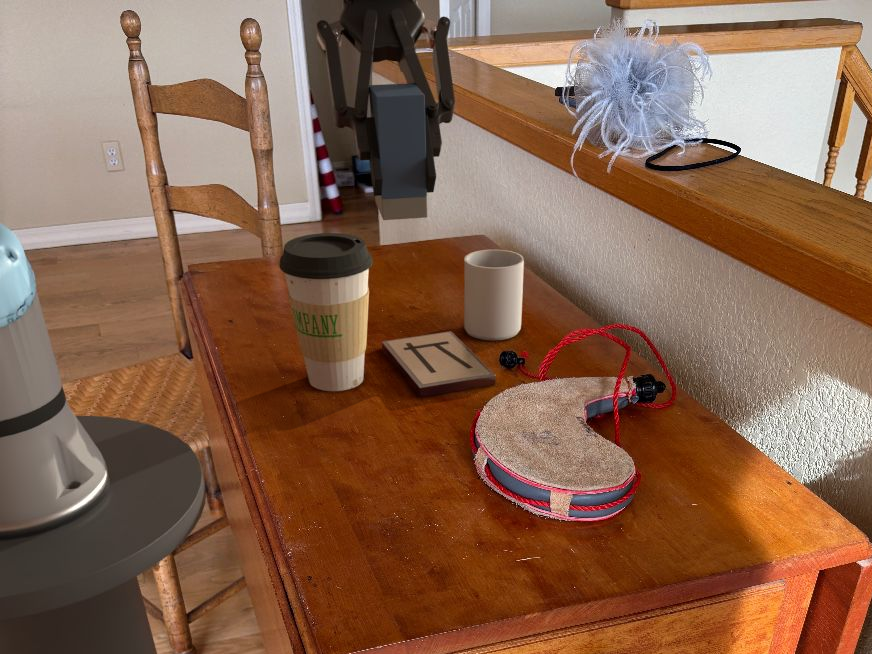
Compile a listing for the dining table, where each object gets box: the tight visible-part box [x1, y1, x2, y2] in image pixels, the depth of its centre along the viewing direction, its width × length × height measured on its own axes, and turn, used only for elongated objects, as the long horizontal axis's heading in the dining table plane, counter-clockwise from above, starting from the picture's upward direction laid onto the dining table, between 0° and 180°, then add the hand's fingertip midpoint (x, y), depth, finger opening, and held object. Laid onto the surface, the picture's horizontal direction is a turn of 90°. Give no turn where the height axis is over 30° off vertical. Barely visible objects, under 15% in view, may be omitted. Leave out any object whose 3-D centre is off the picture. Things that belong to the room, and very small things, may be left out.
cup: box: [463, 249, 525, 341], centre depth 116 cm, size 7×10×9 cm
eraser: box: [369, 83, 428, 221], centre depth 92 cm, size 4×6×11 cm
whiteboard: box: [381, 330, 496, 398], centre depth 108 cm, size 9×14×1 cm, turn 21°
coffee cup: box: [278, 232, 374, 392], centre depth 101 cm, size 10×10×15 cm
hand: (404, 185), depth 91 cm, fingers closed on eraser, 4 cm apart
